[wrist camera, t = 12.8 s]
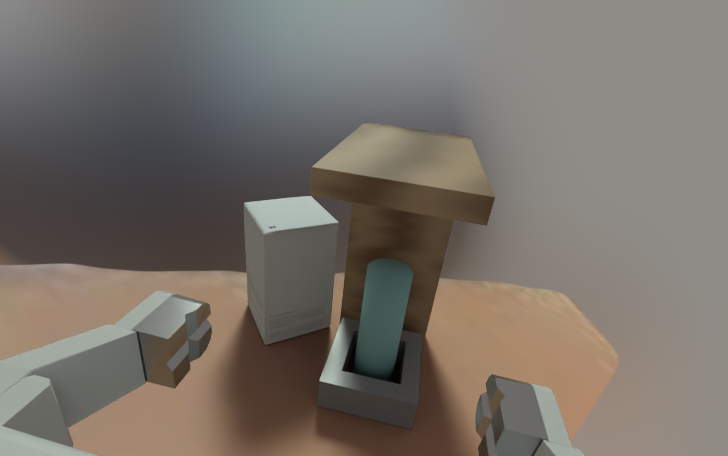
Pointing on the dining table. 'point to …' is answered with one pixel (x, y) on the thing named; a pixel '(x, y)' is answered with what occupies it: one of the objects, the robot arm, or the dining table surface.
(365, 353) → the peg
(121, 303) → the dining table surface
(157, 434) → the dining table surface
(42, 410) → the robot arm
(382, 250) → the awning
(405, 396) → the socket
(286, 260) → the supplement box
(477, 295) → the dining table surface
